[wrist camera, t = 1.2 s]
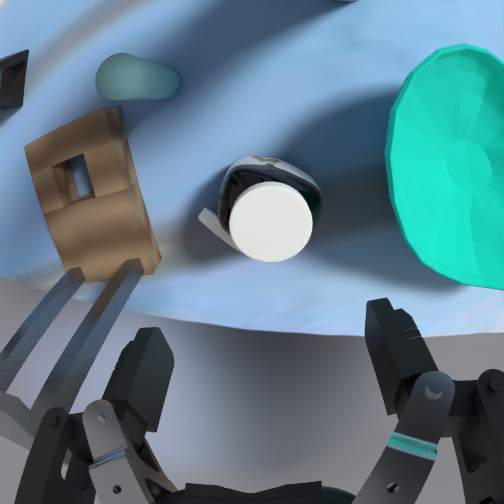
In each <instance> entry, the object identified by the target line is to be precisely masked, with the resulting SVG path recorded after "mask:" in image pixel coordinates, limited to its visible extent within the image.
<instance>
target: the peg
mask: <svg viewBox="0 0 504 504" xmlns="http://www.w3.org/2000/svg"><path fill="white" fill-rule="evenodd" d="M179 87H180V77H179V75H178V74H177V72H176V71H174V70H173V69H170V68H167V67H165V66H162V65H159V64H156V63H153V62H151V61H148V60H145V59H142V58H138V57H135V56H132V55H129V54H125V53H118V54H114V55H112V56H110V57H109V58H107V59H106V60H105V61H104V62H103V63H102V64H101V66H100V67H99V69H98V71H97V74H96V88H97V91H98V92H99V94H100V95H101V96H102V97H103V98H105V99H107V100H112V101H116V100H167V99H170V98H171V97H173V96H174V95H175V94H176V93H177V92H178V90H179Z"/></svg>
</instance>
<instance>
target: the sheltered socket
mask: <svg viewBox="0 0 504 504" xmlns="http://www.w3.org/2000/svg"><path fill="white" fill-rule="evenodd" d="M24 149H25V153H26V157H27V161H28V165H29V169H30V173H31V176H32V180H33V183H34V186H35V190H36V193H37V196H38V199H39V202H40V205H41V208H42V211H43V214H44V217H45V219H46V222H47V225H48V227H49V230H50V233H51V235H52V238H53V240H54V243H55V245H56V248H57V250H58V252H59V255H60V257H61V259H62V262H63V264H64V266H65V268H66V270H67V273H66V274H65V275H64V276H63V277H62V278H61V279H60V280H59V281H58V282H57V284H56V285H55V286H54V287H53V288H52V289H51V290H50V291H49V293H48V294H47V295H46V296H45V297H44V298H43V300H42V301H41V302H40V303H39V304H38V306H37V307H36V308H35V309H34V310H33V312H32V313H31V314H30V315H29V317H28V318H27V319H26V320H25V322H24V323H23V324H22V325H21V327H20V328H19V329H18V330H17V332H16V333H15V335H14V336H13V337H12V338H11V340H10V341H9V342H8V344H7V345H6V347H5V348H4V349H3V351H2V352H1V353H0V435H2V436H3V437H5V438H7V439H9V440H11V441H13V442H15V443H17V444H18V445H20V446H22V447H24V448H27V449H29V450H31V447H32V444H33V441H34V439H35V436H36V433H37V431H38V428H39V426H40V423H41V421H42V418H43V416H44V414H45V413H46V412H47V411H48V410H49V409H51V408H53V407H61V408H63V409H64V410H65V411H66V412H67V413H68V414H69V412H70V409H71V407H72V405H73V403H74V401H75V398H76V396H77V394H78V392H79V390H80V388H81V386H82V384H83V382H84V380H85V378H86V376H87V374H88V372H89V370H90V368H91V366H92V364H93V362H94V360H95V358H96V356H97V354H98V352H99V350H100V348H101V347H102V345H103V343H104V341H105V339H106V337H107V335H108V334H109V332H110V330H111V328H112V326H113V325H114V323H115V321H116V319H117V317H118V316H119V314H120V312H121V310H122V309H123V307H124V305H125V303H126V302H127V300H128V298H129V297H130V295H131V293H132V292H133V290H134V288H135V287H136V285H137V283H138V282H139V280H140V278H141V277H142V275H149V274H153V273H154V271H155V269H156V267H157V266H158V264H159V262H160V261H161V259H162V258H161V255H160V252H159V249H158V246H157V243H156V240H155V237H154V233H153V230H152V227H151V224H150V221H149V217H148V214H147V211H146V207H145V204H144V201H143V197H142V194H141V190H140V187H139V183H138V179H137V176H136V172H135V168H134V164H133V160H132V156H131V152H130V148H129V144H128V140H127V135H126V131H125V127H124V122H123V118H122V113H121V108H120V106H119V107H107V108H103V109H100V110H98V111H95V112H93V113H90V114H88V115H86V116H84V117H81V118H79V119H77V120H75V121H72V122H70V123H68V124H66V125H64V126H62V127H60V128H58V129H56V130H54V131H52V132H50V133H48V134H46V135H44V136H42V137H41V138H39V139H37V140H35V141H33V142H31V143H30V144H28V145H26V146H24ZM81 154H84V158H85V161H86V165H87V169H88V172H89V176H90V179H91V183H92V186H93V189H94V193H90V194H87V195H84V196H81V197H79V195H78V191H77V188H76V185H75V182H74V178H73V175H72V171H71V168H70V164H69V160H68V159H71V158H73V157H75V156H78V155H81ZM107 279H111V281H110V282H109V284H108V285H107V286H106V288H105V289H104V291H103V292H102V293H101V295H100V296H99V298H98V299H97V301H96V302H95V304H94V305H93V306H92V308H91V309H90V311H89V312H88V314H87V315H86V317H85V318H84V320H83V322H82V323H81V325H80V326H79V328H78V329H77V331H76V332H75V334H74V335H73V337H72V338H71V340H70V342H69V343H68V345H67V347H66V348H65V350H64V352H63V353H62V355H61V356H60V358H59V360H58V361H57V363H56V365H55V366H54V368H53V370H52V372H51V373H50V375H49V377H48V379H47V380H46V382H45V384H44V386H43V388H42V389H41V391H40V393H39V395H38V397H37V399H36V400H35V402H34V404H33V406H32V408H31V410H30V409H29V408H28V407H27V406H26V405H25V404H24V403H23V402H22V401H21V400H20V399H19V398H18V397H15V396H12V395H10V394H7V393H6V391H7V389H8V387H9V386H10V384H11V383H12V381H13V379H14V378H15V376H16V374H17V373H18V371H19V370H20V368H21V367H22V365H23V363H24V362H25V360H26V359H27V357H28V356H29V354H30V353H31V351H32V350H33V348H34V347H35V345H36V344H37V342H38V341H39V340H40V338H41V337H42V335H43V334H44V333H45V331H46V330H47V328H48V327H49V326H50V324H51V323H52V321H53V320H54V319H55V317H56V316H57V315H58V313H59V312H60V311H61V309H62V308H63V307H64V306H65V304H66V303H67V302H68V300H69V299H70V298H71V297H72V295H73V294H74V293H75V291H76V290H77V289H78V288H79V287H80V285H81V284H82V283H83V282H90V281H99V280H107ZM71 455H72V453H70V452H69V451H68V450H67V451H66V454H65V458H64V461H63V465H66V466H69V462H70V459H71Z"/></svg>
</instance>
